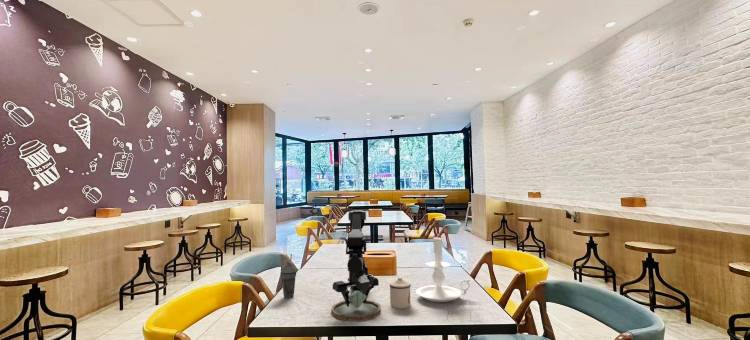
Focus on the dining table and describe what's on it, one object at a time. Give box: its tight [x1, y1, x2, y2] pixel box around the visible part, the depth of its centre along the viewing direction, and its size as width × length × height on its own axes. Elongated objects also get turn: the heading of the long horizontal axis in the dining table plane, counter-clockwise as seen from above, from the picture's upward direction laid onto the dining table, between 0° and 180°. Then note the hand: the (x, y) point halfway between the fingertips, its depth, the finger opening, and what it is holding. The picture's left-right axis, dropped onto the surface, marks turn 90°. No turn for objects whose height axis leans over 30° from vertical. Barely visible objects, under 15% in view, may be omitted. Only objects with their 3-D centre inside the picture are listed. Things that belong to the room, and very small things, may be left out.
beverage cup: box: [280, 253, 298, 299], centre depth 157 cm, size 7×7×20 cm
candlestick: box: [415, 236, 471, 303], centre depth 152 cm, size 21×25×28 cm
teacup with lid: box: [389, 276, 411, 309], centre depth 145 cm, size 12×9×12 cm
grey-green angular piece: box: [349, 291, 368, 308], centre depth 137 cm, size 8×4×7 cm, turn 97°
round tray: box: [330, 299, 382, 322], centre depth 137 cm, size 20×20×2 cm
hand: (356, 304), depth 137 cm, fingers closed on grey-green angular piece, 7 cm apart
